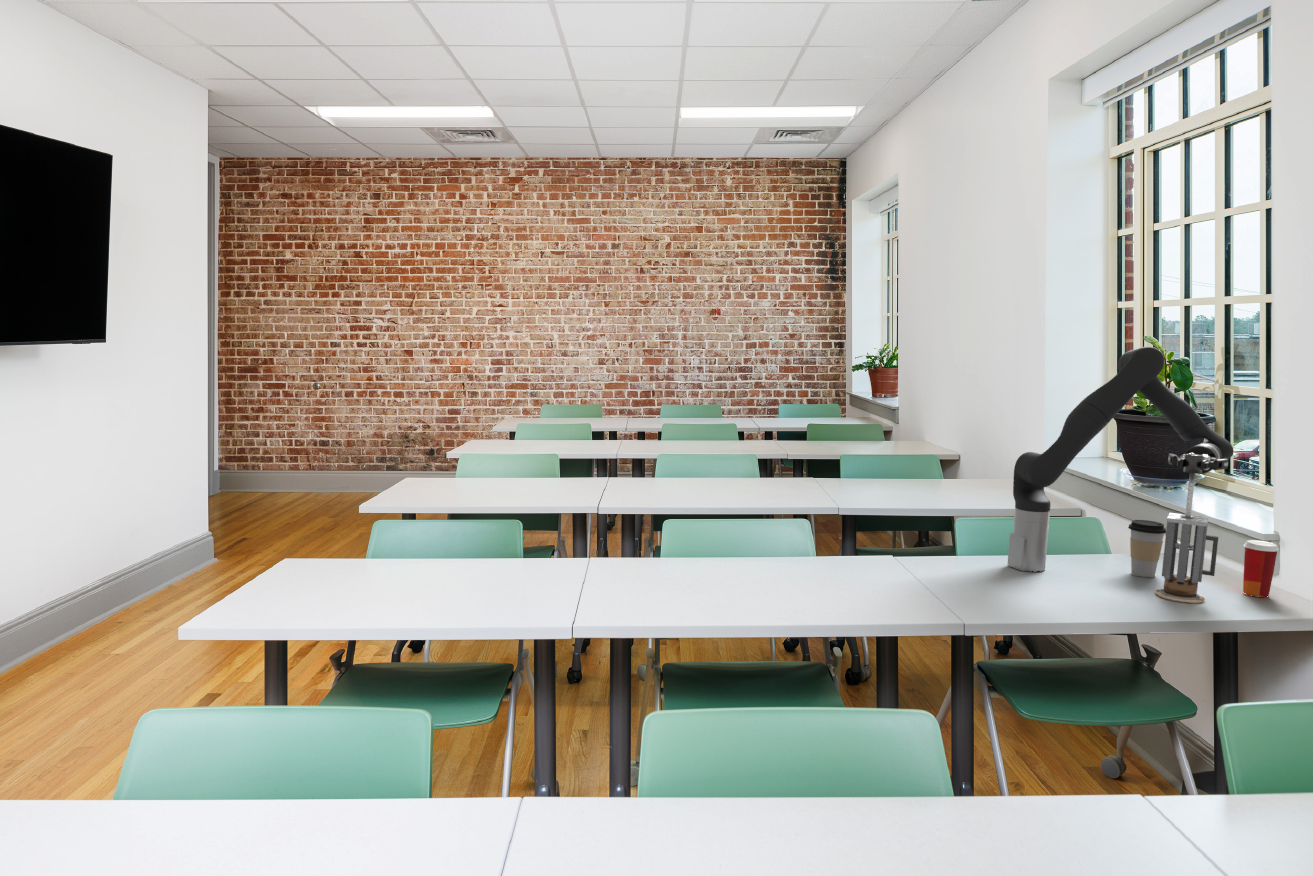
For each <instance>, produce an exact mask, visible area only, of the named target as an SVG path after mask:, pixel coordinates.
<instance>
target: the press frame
mask: <svg viewBox="0 0 1313 876" xmlns="http://www.w3.org/2000/svg"><path fill="white" fill-rule="evenodd" d="M1185 514H1186V513H1185ZM1185 514H1183V513H1174V512H1169V514H1168V515H1167V518H1166V528H1165V529H1166V533H1165V538H1164V539H1165V540H1164V549H1163V558H1162V559H1163V560H1162V570H1161V577H1164V582H1163V583H1164V584H1163V588H1158V589H1156V590H1155V591H1154V593H1155V596H1157V597H1159V598H1161V599H1164V600H1166V601H1170V602H1176V603H1182V604H1190V605H1191V604H1192V605H1193V604H1197V605H1198V604H1203V603H1204V602H1205V600H1206V598H1205V597H1204V596H1203V595H1201V594H1199V593H1198V588H1199V587H1198V585H1199V583H1202V581H1203V575H1205V576H1212V577H1215V573H1216V572H1215V571H1216V565H1217V556H1218V555H1217V554H1218V544H1219V536H1216V535H1207V534H1208V533H1207V532H1208V525H1209V523H1208V522H1209V517H1208V516H1200V515H1194V514H1193V515H1192V514H1191V519H1187V518H1185ZM1180 524H1181V530H1180V532H1181V533H1180V541H1179V542H1180V549H1178V550H1179V551H1178V562H1177V570H1176V574H1175V564H1176V554H1177V548H1175V543H1176V542H1178V535H1179V527H1180ZM1193 526H1194V527H1195V529H1194V530H1195V531H1194V538H1193V544H1194V546H1193V551H1192V556H1191V567H1190V576H1188V566H1189V555H1190V550H1188V545H1189V543H1191V539H1192V537H1191V536H1192V528H1193ZM1207 541H1210V542H1211V541H1212V548H1211V549H1212V551H1211V559H1210V568H1209V570H1208V569H1204V562H1205V552H1206V546H1207V545H1206V544H1207Z"/></svg>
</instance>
